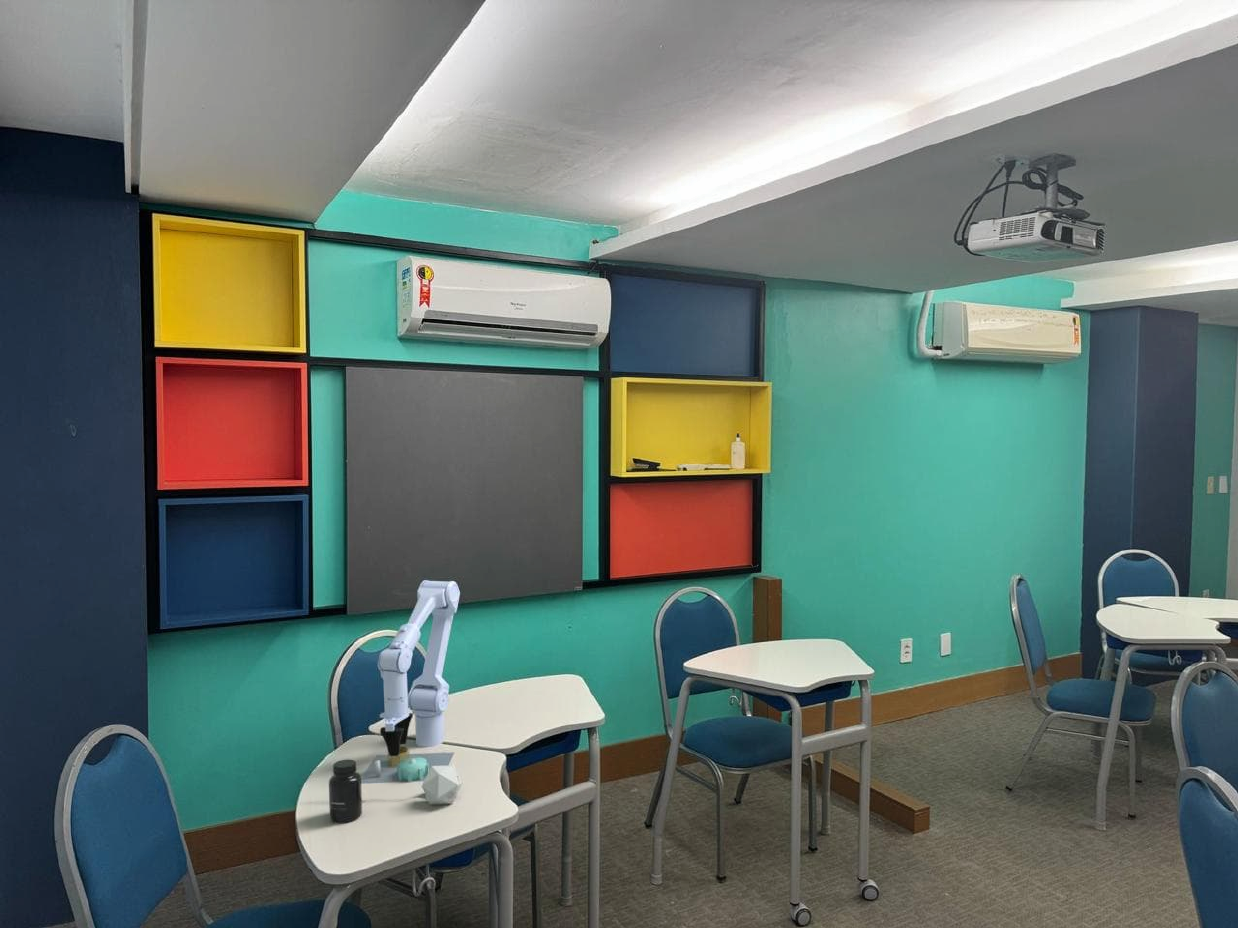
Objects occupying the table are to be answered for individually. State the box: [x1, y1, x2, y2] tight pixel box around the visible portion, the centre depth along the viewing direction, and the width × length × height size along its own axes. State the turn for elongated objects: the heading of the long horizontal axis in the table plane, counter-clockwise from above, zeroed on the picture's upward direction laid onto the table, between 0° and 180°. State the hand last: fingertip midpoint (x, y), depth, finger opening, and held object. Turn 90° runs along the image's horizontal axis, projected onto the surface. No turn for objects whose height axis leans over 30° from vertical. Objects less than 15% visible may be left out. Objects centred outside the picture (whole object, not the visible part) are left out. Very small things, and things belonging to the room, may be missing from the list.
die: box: [421, 764, 463, 806], centre depth 190 cm, size 8×9×10 cm
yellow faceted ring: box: [386, 745, 410, 767], centre depth 210 cm, size 5×5×3 cm
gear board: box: [361, 751, 455, 784], centre depth 207 cm, size 17×20×5 cm
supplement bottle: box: [328, 759, 363, 824], centre depth 183 cm, size 7×7×12 cm
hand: (397, 749), depth 210 cm, fingers open, 7 cm apart
